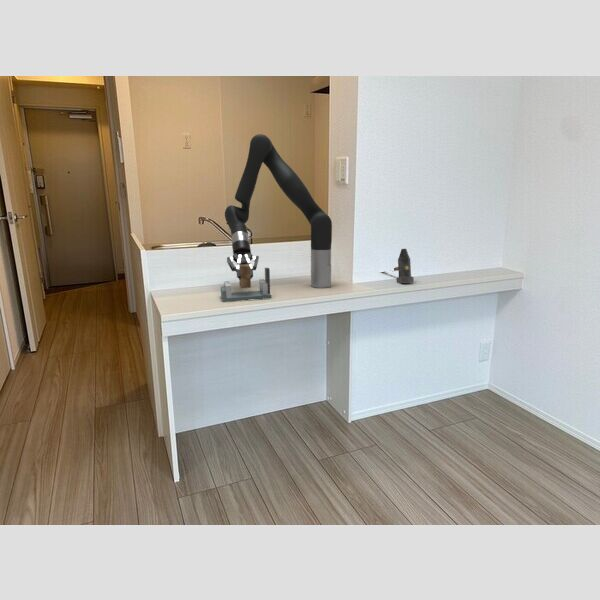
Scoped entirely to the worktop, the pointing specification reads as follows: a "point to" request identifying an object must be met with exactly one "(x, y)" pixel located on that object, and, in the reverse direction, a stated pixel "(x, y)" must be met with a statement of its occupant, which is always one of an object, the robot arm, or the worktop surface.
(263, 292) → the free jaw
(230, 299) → the vise
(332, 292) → the worktop surface
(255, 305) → the worktop surface
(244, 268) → the block
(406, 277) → the dark tapered tower
